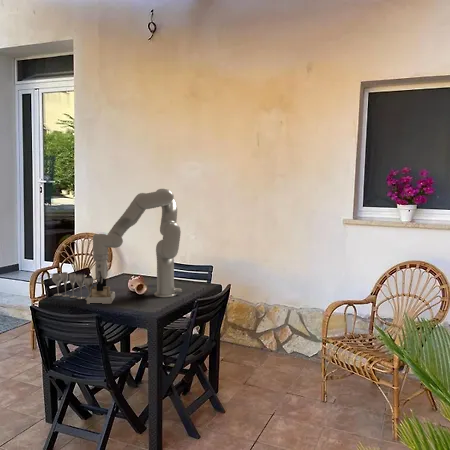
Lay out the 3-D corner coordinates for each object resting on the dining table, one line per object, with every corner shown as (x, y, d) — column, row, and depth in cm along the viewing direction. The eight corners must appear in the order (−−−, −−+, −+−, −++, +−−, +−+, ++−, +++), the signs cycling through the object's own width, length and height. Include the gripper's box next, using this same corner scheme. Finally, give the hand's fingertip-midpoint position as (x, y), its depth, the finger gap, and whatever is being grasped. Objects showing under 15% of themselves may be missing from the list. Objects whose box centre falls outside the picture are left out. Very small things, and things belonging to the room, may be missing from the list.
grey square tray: (114, 297, 252) (114, 291, 252) (111, 303, 240) (111, 297, 240) (91, 297, 251) (91, 291, 251) (86, 303, 239) (86, 297, 238)
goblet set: (96, 298, 247) (95, 274, 246) (88, 301, 242) (87, 276, 241) (58, 293, 259) (57, 270, 258) (50, 295, 254) (49, 272, 253)
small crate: (109, 297, 249) (110, 286, 248) (108, 300, 243) (108, 289, 242) (92, 297, 248) (93, 286, 247) (90, 300, 242) (90, 289, 241)
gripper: (105, 260, 235) (106, 292, 237) (110, 254, 252) (111, 284, 254) (90, 260, 234) (91, 292, 236) (96, 254, 251) (97, 284, 253)
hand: (101, 288), depth 245 cm, fingers open, 9 cm apart
